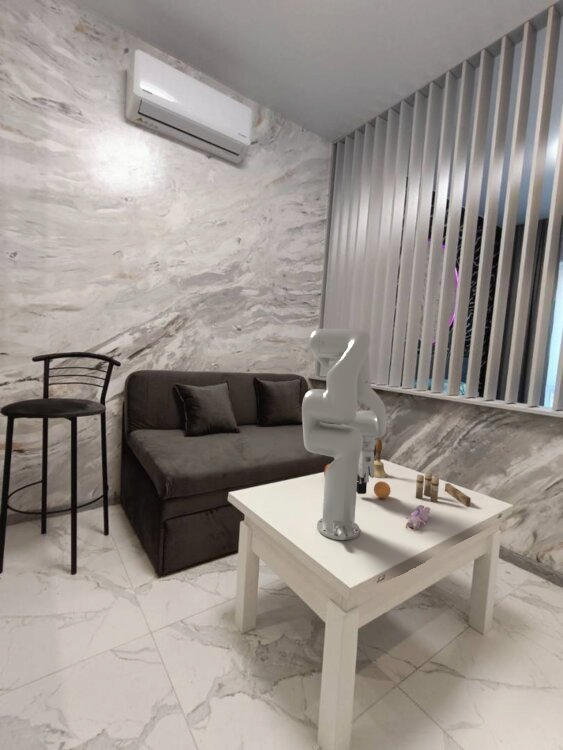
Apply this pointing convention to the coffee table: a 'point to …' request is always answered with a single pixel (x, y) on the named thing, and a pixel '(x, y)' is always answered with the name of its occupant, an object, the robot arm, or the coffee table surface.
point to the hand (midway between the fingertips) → (361, 492)
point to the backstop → (457, 494)
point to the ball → (382, 489)
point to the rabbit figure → (418, 517)
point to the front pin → (419, 486)
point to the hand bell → (379, 462)
